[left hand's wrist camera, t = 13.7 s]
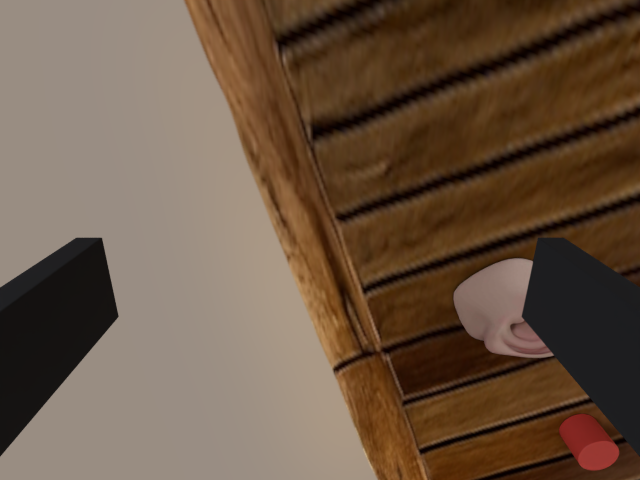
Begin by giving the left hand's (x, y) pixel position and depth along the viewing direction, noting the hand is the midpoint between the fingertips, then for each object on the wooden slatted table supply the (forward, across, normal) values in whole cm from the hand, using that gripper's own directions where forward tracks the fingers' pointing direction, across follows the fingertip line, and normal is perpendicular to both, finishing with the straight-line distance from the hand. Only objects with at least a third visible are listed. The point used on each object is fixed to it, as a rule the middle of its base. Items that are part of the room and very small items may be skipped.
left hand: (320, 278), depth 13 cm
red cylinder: (+28, +33, -36) cm, 56 cm away
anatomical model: (+28, +22, -18) cm, 40 cm away
